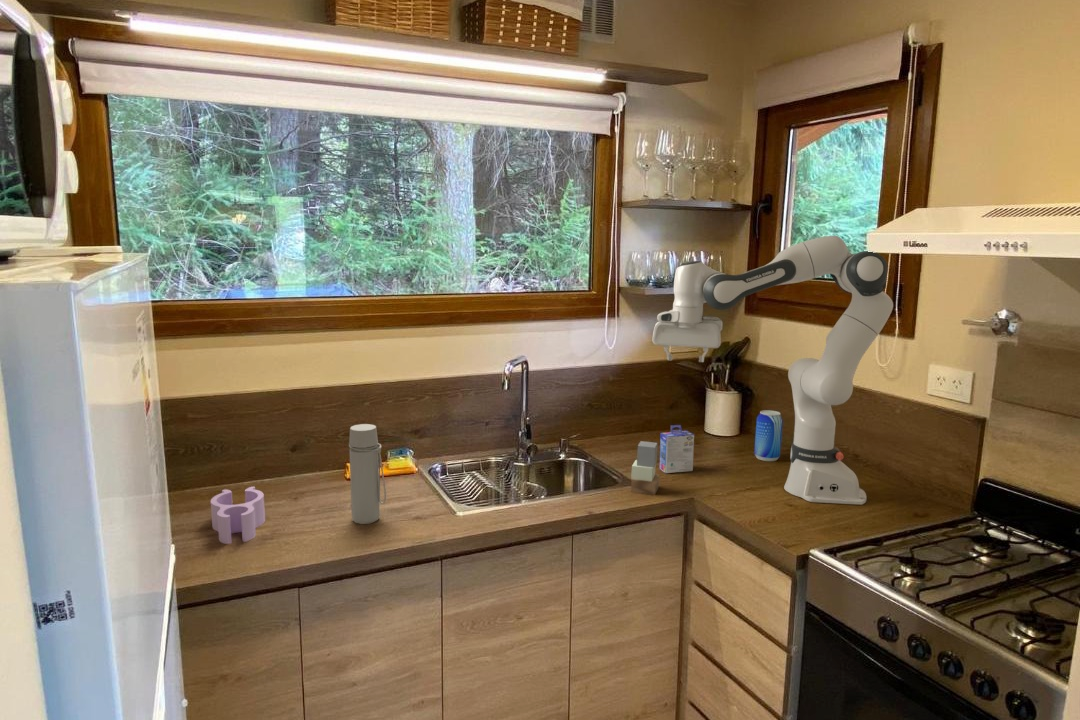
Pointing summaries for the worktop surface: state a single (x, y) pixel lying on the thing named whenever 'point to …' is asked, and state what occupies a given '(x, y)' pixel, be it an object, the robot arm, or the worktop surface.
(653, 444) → the grey block
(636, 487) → the tower base
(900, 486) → the worktop surface
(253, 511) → the clip
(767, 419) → the beer can
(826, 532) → the worktop surface
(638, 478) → the cream square block
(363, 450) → the water bottle
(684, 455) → the ink cartridge box
